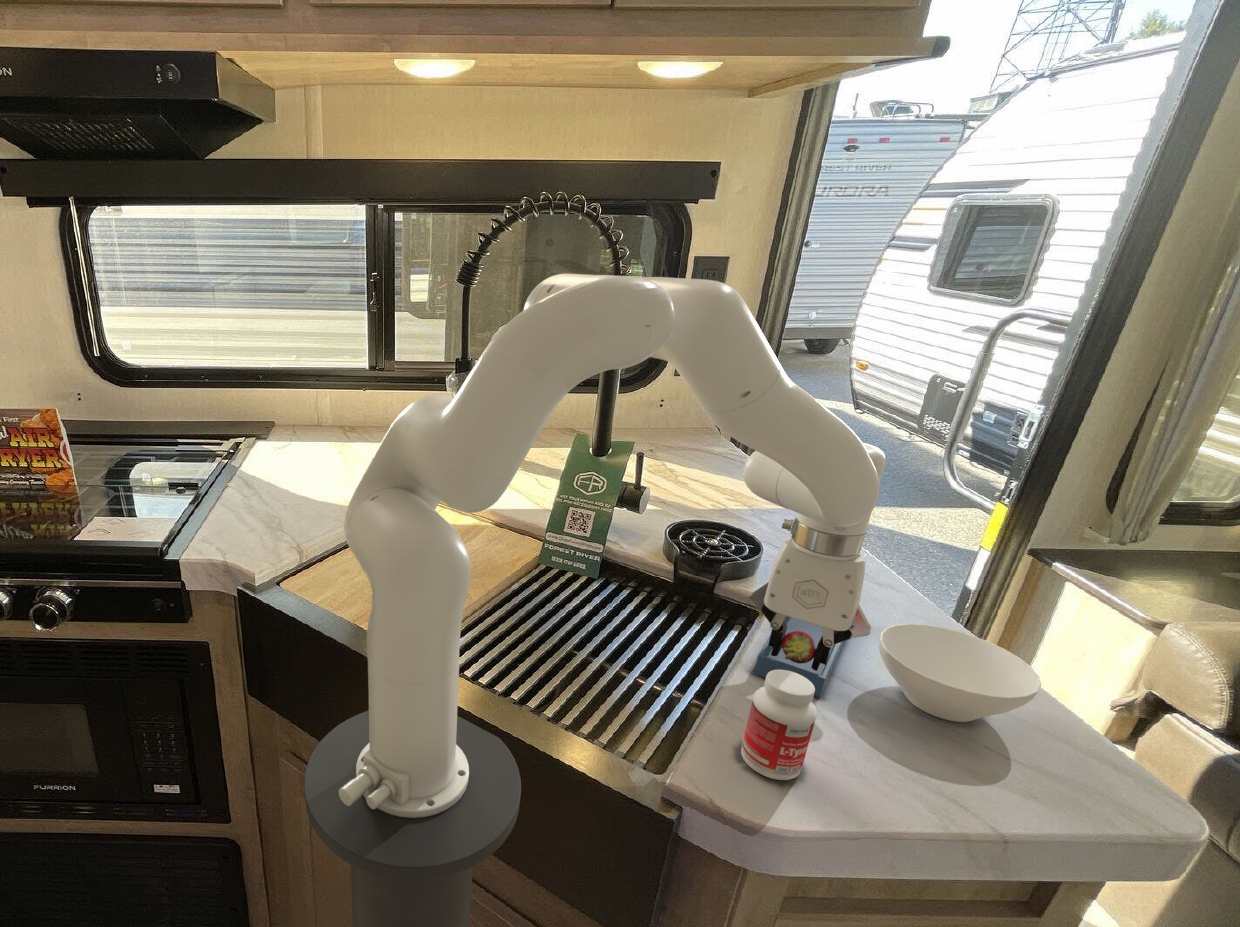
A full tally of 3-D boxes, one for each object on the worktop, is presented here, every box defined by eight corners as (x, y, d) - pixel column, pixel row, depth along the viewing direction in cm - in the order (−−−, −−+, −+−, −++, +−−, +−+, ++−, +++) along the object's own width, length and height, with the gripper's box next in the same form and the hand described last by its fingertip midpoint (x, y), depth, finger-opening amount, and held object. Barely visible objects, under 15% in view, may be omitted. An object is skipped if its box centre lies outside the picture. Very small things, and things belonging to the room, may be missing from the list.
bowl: (988, 764, 75) (1008, 714, 72) (841, 689, 88) (855, 644, 85) (1043, 717, 83) (1063, 670, 80) (901, 654, 95) (915, 612, 93)
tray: (819, 697, 86) (825, 678, 85) (753, 673, 91) (758, 655, 90) (853, 619, 105) (857, 602, 103) (796, 602, 109) (800, 586, 108)
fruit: (816, 655, 92) (825, 624, 90) (809, 675, 87) (818, 643, 85) (782, 644, 94) (790, 614, 92) (774, 663, 90) (781, 632, 88)
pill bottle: (776, 789, 71) (798, 706, 67) (728, 753, 77) (746, 674, 73) (812, 771, 74) (836, 689, 70) (764, 737, 79) (783, 659, 75)
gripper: (748, 529, 86) (723, 647, 93) (904, 567, 76) (863, 697, 83) (763, 513, 92) (738, 626, 98) (911, 546, 82) (872, 670, 88)
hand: (796, 657), depth 90 cm, fingers closed on fruit, 4 cm apart
